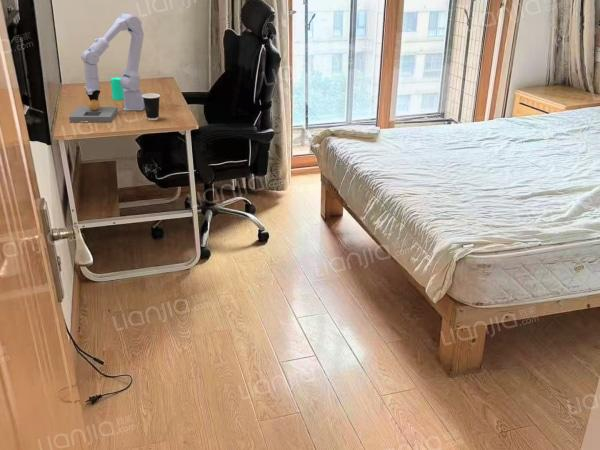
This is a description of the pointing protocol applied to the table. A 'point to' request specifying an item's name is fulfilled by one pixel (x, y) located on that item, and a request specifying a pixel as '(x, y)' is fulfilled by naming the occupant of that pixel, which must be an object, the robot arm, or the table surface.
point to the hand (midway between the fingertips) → (94, 106)
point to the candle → (117, 89)
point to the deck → (94, 114)
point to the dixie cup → (151, 105)
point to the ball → (94, 105)
